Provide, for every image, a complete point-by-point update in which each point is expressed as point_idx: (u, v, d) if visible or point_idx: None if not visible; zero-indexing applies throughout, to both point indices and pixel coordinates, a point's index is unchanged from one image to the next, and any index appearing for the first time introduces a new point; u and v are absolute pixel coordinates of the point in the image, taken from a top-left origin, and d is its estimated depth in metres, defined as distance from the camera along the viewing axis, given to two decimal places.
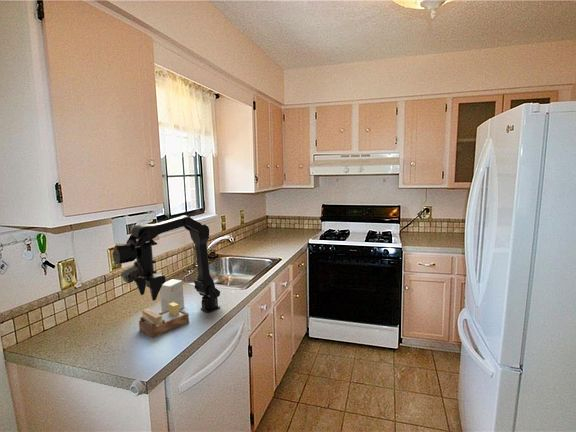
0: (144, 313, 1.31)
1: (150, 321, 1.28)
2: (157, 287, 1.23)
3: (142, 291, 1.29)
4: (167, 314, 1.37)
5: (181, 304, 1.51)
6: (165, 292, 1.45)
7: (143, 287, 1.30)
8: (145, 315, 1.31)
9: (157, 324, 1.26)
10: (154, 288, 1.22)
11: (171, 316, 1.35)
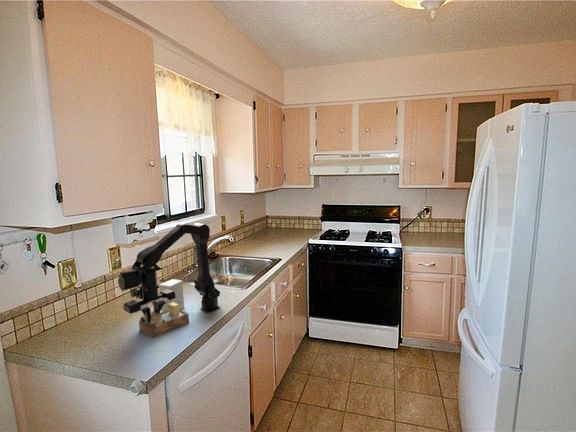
0: None
1: (150, 321, 1.28)
2: None
3: None
4: (167, 314, 1.37)
5: (181, 304, 1.51)
6: None
7: None
8: None
9: (157, 324, 1.26)
10: (145, 311, 1.27)
11: (171, 316, 1.35)
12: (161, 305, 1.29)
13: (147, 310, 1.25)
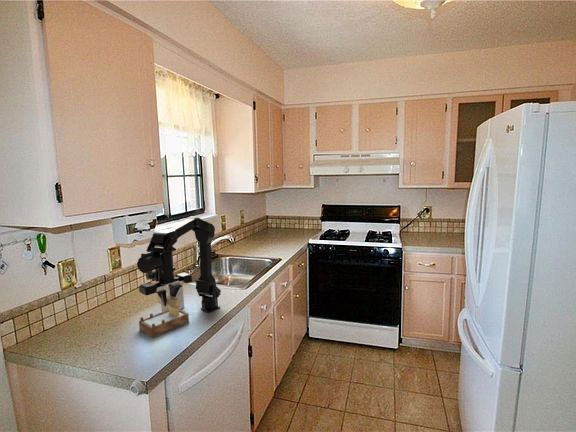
0: None
1: (166, 304, 1.23)
2: None
3: None
4: (167, 314, 1.37)
5: (181, 304, 1.51)
6: None
7: None
8: None
9: (173, 307, 1.20)
10: (160, 294, 1.22)
11: (171, 316, 1.35)
12: (177, 288, 1.24)
13: (163, 293, 1.20)
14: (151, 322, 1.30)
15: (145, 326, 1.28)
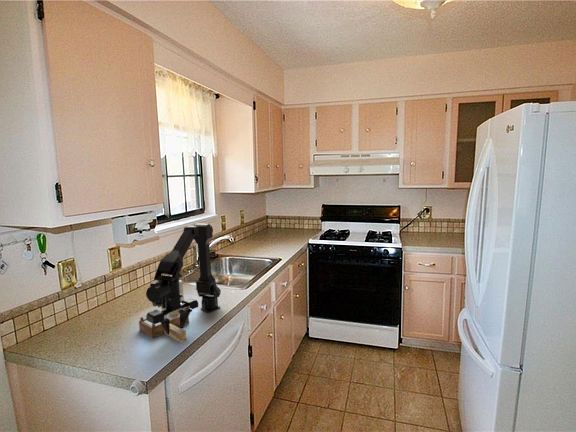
0: None
1: (173, 337, 1.24)
2: (164, 323, 1.21)
3: (181, 324, 1.27)
4: None
5: None
6: None
7: (182, 322, 1.27)
8: None
9: (181, 340, 1.22)
10: (163, 322, 1.22)
11: (171, 316, 1.35)
12: (188, 313, 1.26)
13: (166, 322, 1.19)
14: None
15: (145, 326, 1.28)
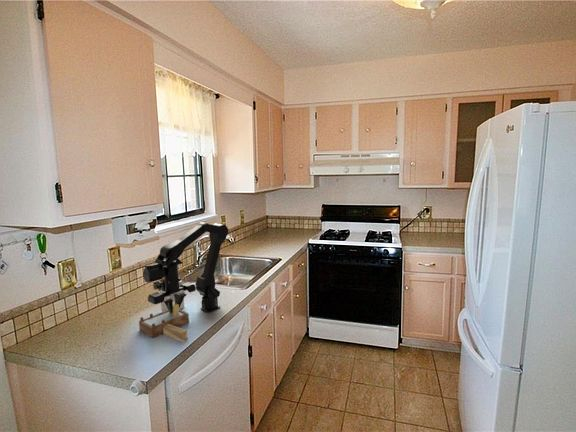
0: (166, 329, 1.26)
1: (174, 337, 1.24)
2: (168, 303, 1.34)
3: None
4: (167, 314, 1.37)
5: (181, 304, 1.51)
6: None
7: None
8: (167, 330, 1.26)
9: (183, 339, 1.22)
10: (167, 302, 1.34)
11: (171, 316, 1.35)
12: (182, 297, 1.36)
13: (170, 301, 1.32)
14: (151, 322, 1.30)
15: (145, 326, 1.28)
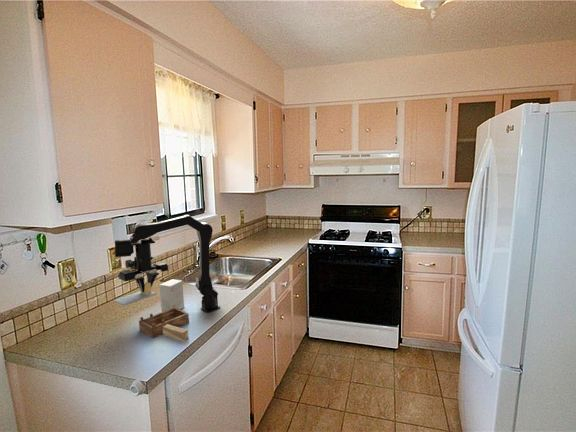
0: (165, 329, 1.26)
1: (174, 337, 1.24)
2: None
3: None
4: (139, 293, 1.37)
5: (181, 304, 1.51)
6: (165, 292, 1.45)
7: None
8: (166, 331, 1.26)
9: (184, 339, 1.22)
10: (139, 281, 1.34)
11: (143, 294, 1.35)
12: (154, 276, 1.37)
13: (141, 279, 1.32)
14: (122, 300, 1.30)
15: (145, 326, 1.28)
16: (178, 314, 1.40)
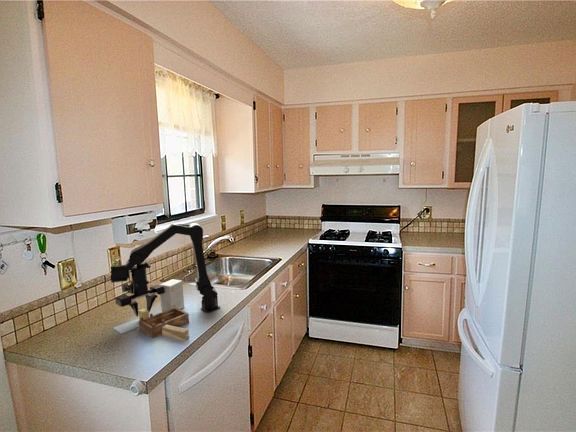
0: (165, 329, 1.26)
1: (174, 337, 1.24)
2: None
3: (147, 309, 1.41)
4: (137, 320, 1.39)
5: (181, 304, 1.51)
6: (165, 292, 1.45)
7: (148, 306, 1.40)
8: (166, 331, 1.26)
9: (185, 338, 1.23)
10: (133, 306, 1.36)
11: None
12: (153, 298, 1.39)
13: (135, 305, 1.33)
14: (120, 328, 1.32)
15: (145, 326, 1.28)
16: (178, 314, 1.40)
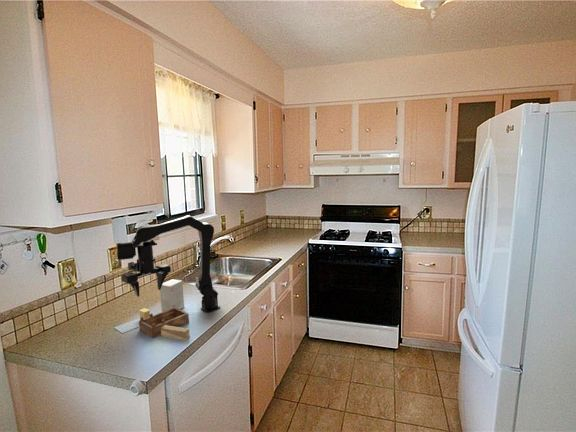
0: (165, 330, 1.25)
1: (175, 337, 1.24)
2: None
3: (158, 286, 1.41)
4: (138, 320, 1.40)
5: (181, 304, 1.51)
6: (165, 292, 1.45)
7: (159, 284, 1.40)
8: (166, 331, 1.25)
9: (186, 338, 1.23)
10: (134, 285, 1.32)
11: None
12: (164, 276, 1.39)
13: (136, 284, 1.30)
14: (121, 328, 1.33)
15: (145, 326, 1.28)
16: (178, 314, 1.40)
